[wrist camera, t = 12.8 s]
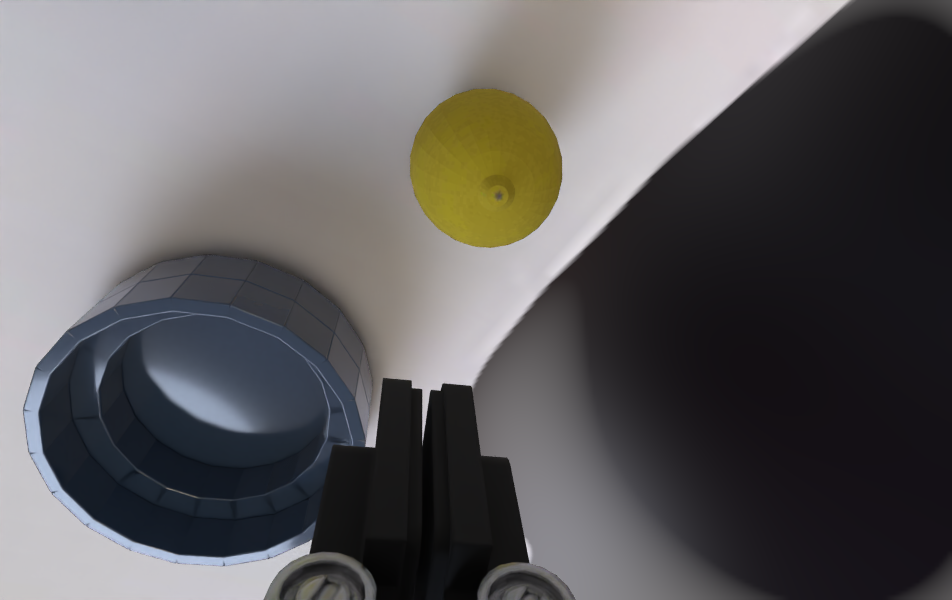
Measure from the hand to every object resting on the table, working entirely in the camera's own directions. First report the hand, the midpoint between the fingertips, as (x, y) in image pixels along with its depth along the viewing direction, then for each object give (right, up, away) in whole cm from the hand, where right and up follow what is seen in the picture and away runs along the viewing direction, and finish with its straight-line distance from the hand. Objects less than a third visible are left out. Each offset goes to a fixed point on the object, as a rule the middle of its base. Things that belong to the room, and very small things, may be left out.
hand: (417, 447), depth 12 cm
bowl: (-11, -1, +19) cm, 21 cm away
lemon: (+1, +9, +15) cm, 18 cm away
